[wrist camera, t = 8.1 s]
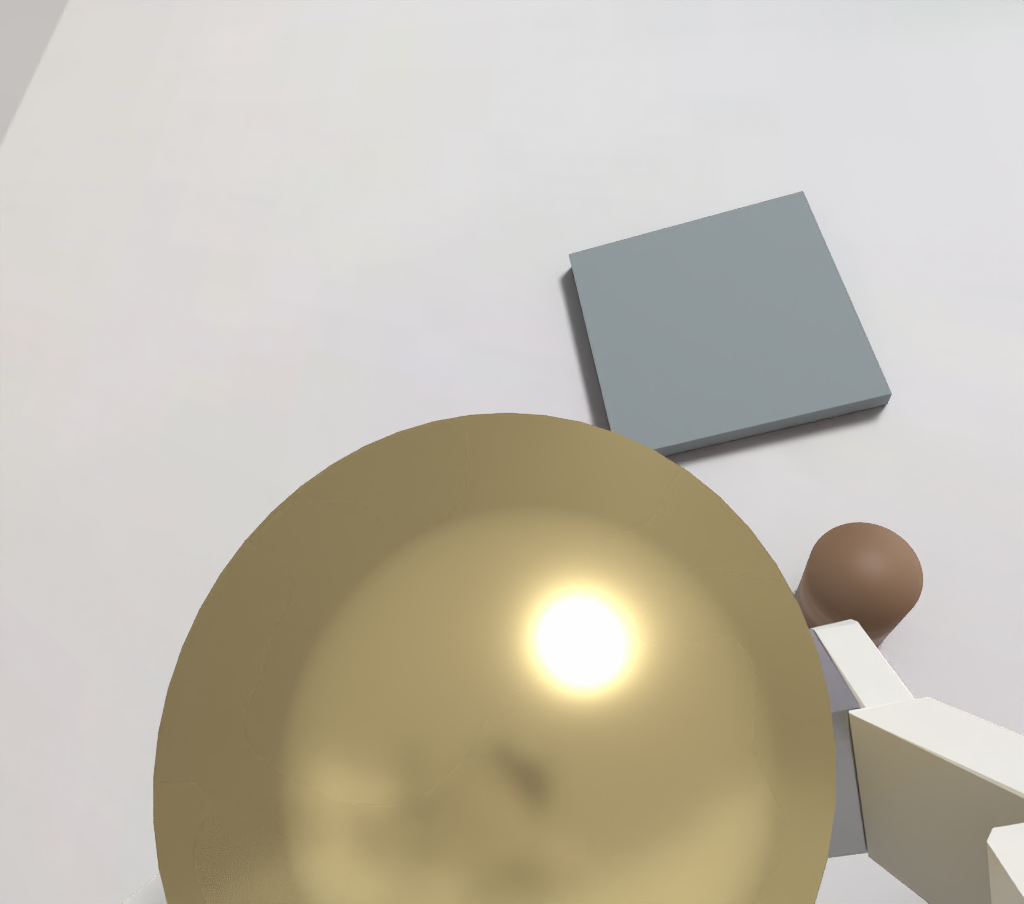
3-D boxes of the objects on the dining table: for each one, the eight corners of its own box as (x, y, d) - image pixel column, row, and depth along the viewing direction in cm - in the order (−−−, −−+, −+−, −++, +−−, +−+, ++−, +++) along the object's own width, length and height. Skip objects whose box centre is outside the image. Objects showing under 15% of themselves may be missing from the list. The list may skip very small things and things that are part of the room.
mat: (619, 466, 30) (617, 457, 30) (571, 266, 35) (568, 254, 34) (887, 404, 29) (891, 393, 28) (800, 204, 34) (802, 191, 33)
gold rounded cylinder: (531, 940, 15) (127, 1209, 4) (500, 708, 17) (169, 483, 6) (758, 904, 14) (965, 1103, 4) (698, 670, 16) (720, 354, 6)
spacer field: (433, 1103, 23) (376, 1159, 19) (388, 556, 31) (340, 515, 27) (1047, 1022, 21) (1126, 1067, 17) (831, 455, 29) (851, 395, 25)
